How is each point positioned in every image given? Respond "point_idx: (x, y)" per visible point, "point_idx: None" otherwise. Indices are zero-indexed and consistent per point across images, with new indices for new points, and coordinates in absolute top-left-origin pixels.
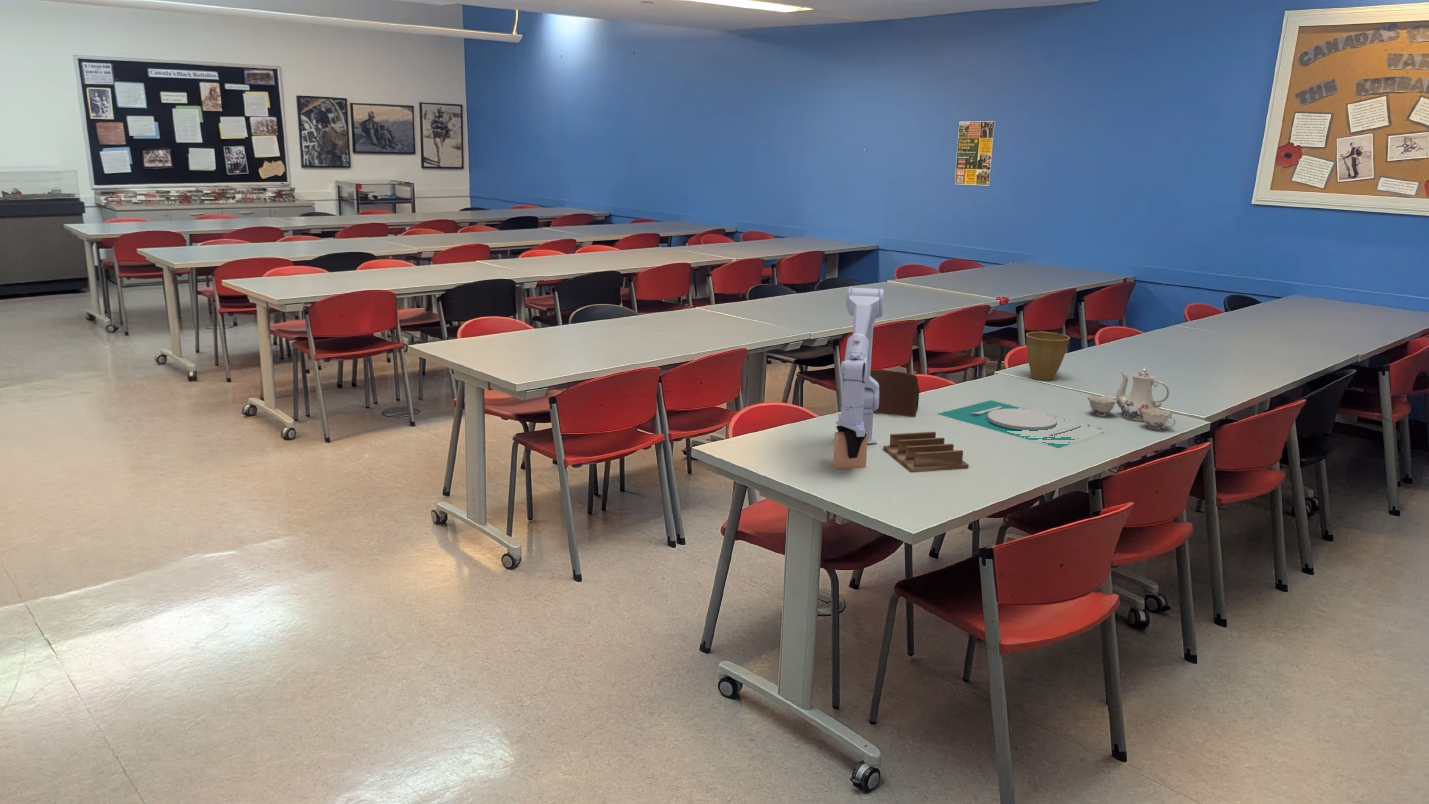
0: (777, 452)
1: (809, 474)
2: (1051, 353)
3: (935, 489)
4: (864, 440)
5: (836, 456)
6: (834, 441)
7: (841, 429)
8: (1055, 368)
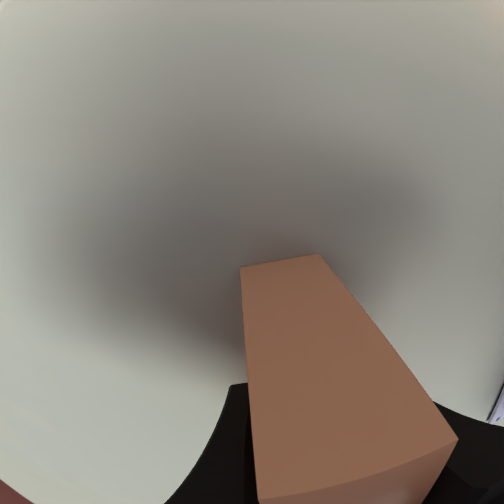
0: (493, 8)
1: (120, 66)
2: None
3: (71, 492)
4: None
5: (266, 301)
6: (385, 357)
7: (457, 500)
8: None
